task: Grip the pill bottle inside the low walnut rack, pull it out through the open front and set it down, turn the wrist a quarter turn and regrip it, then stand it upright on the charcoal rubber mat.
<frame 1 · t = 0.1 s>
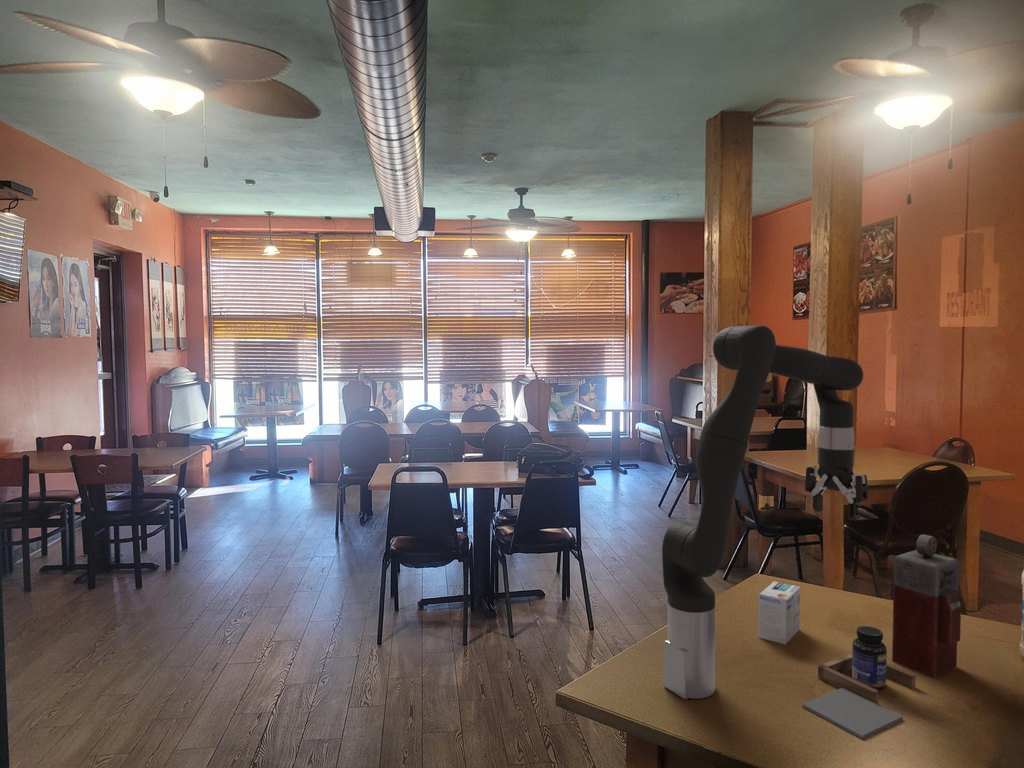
hand: (834, 515, 154), 29 cm above the table, tool pointing down, fingers open, 8 cm apart
walnut rack: (868, 683, 135), on the table
rubber mat: (851, 713, 124), on the table
red rectangular canister: (929, 666, 142), on the table
pill bottle: (868, 684, 135), on the table
light bulb box: (779, 634, 159), on the table
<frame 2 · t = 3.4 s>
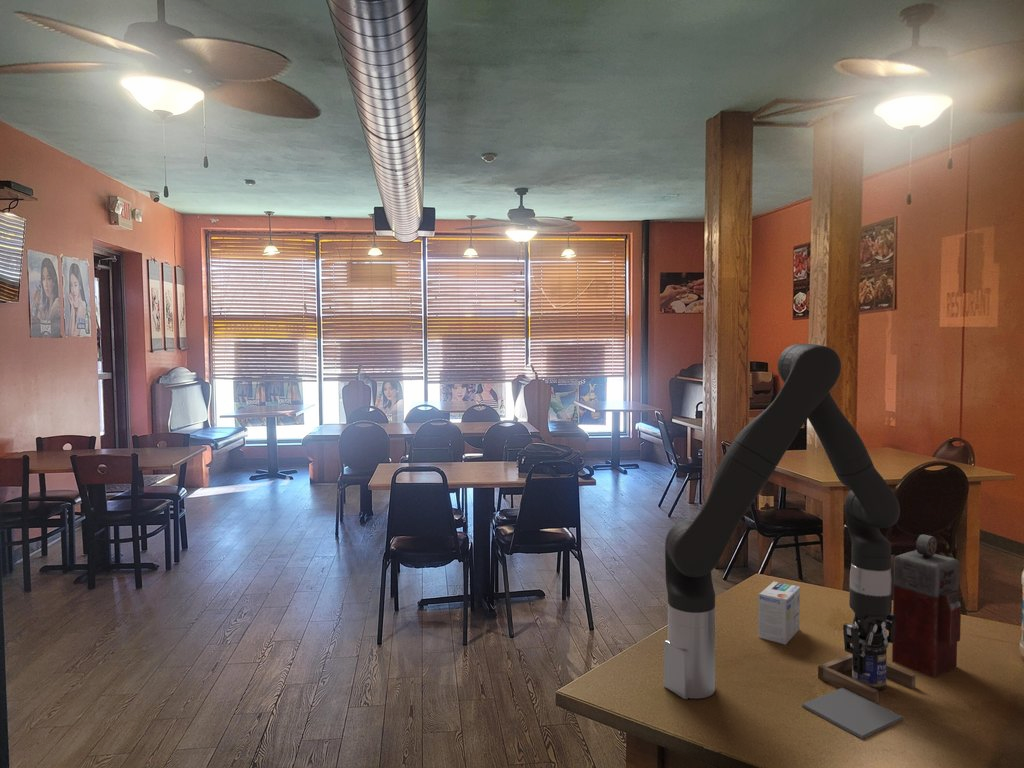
hand: (869, 668, 135), 3 cm above the table, tool pointing down, fingers closed on pill bottle, 6 cm apart
pill bottle: (868, 684, 135), on the table, touching gripper
everything else where it was.
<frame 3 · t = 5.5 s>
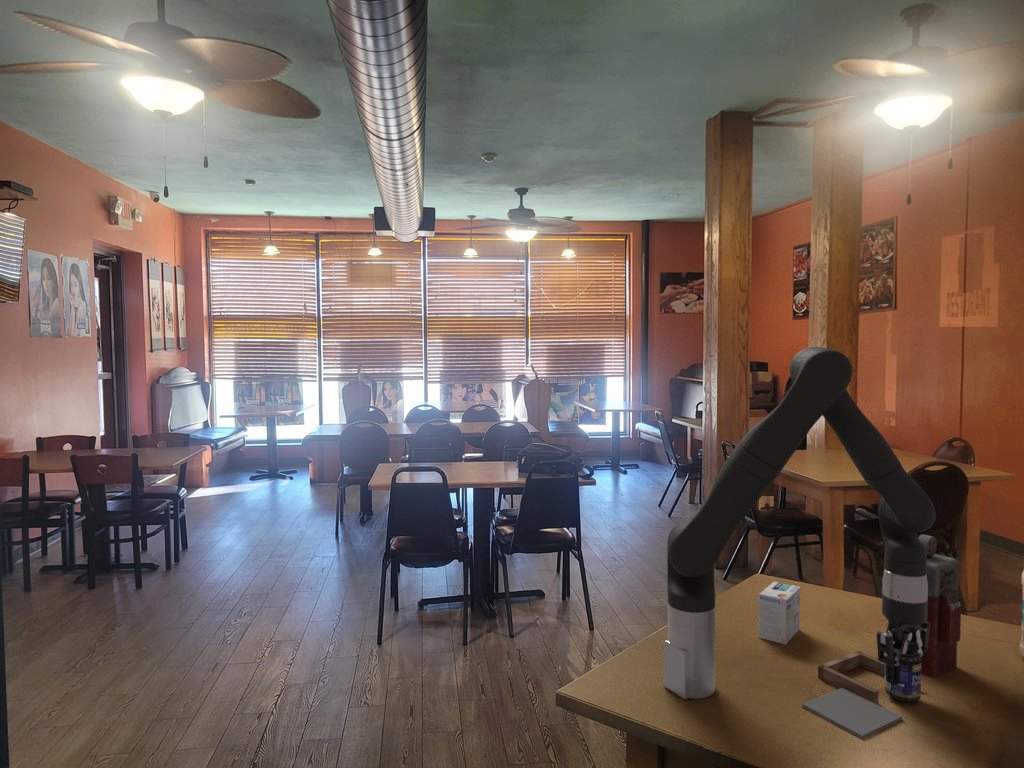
hand: (902, 678, 129), 4 cm above the table, tool pointing down, fingers closed on pill bottle, 6 cm apart
pill bottle: (902, 695, 129), point 1 cm above the table, touching gripper
everything else where it was.
when the fingers open (3 cm above the table, at t = 7.5 s): pill bottle stays where it is, on the table.
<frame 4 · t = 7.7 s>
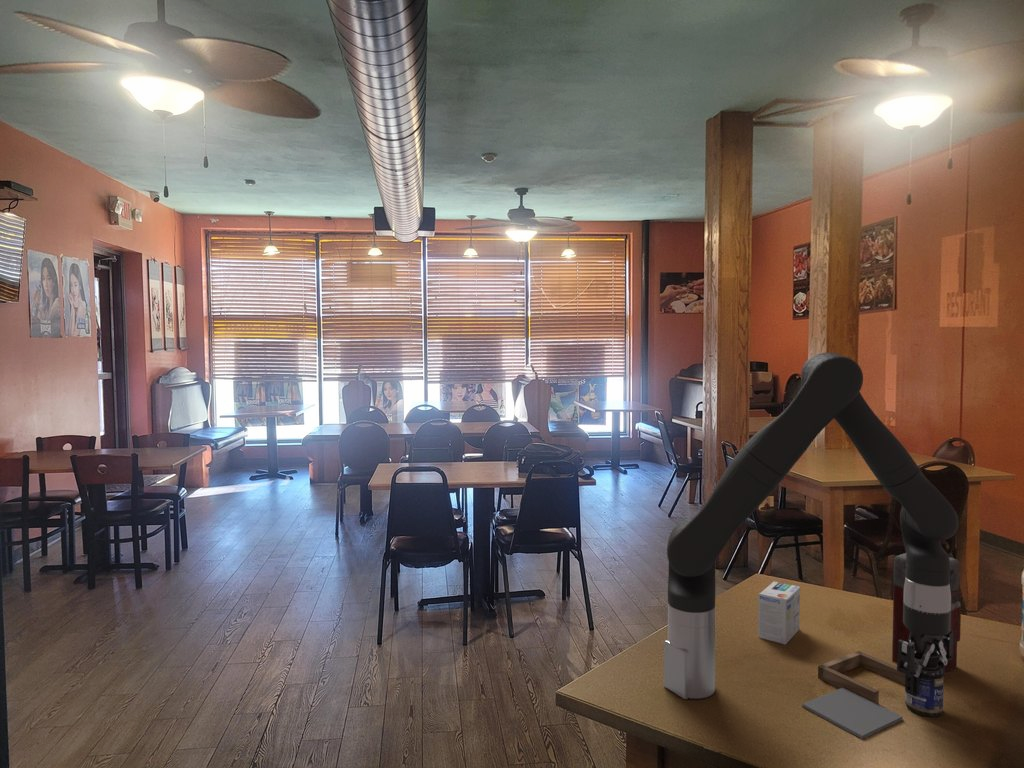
hand: (924, 688, 125), 4 cm above the table, tool pointing down, fingers open, 8 cm apart
pill bottle: (923, 710, 125), on the table
everything else where it was.
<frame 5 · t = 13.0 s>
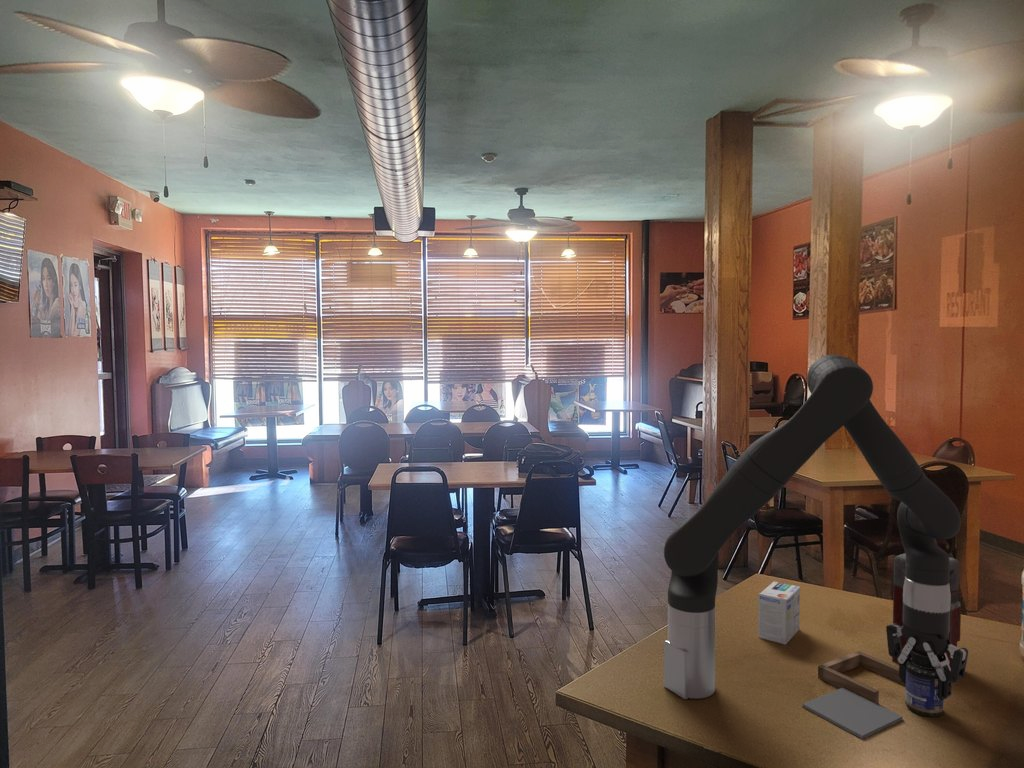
hand: (924, 689, 125), 4 cm above the table, tool pointing down, fingers closed on pill bottle, 6 cm apart
pill bottle: (923, 709, 125), on the table, touching gripper
everything else where it was.
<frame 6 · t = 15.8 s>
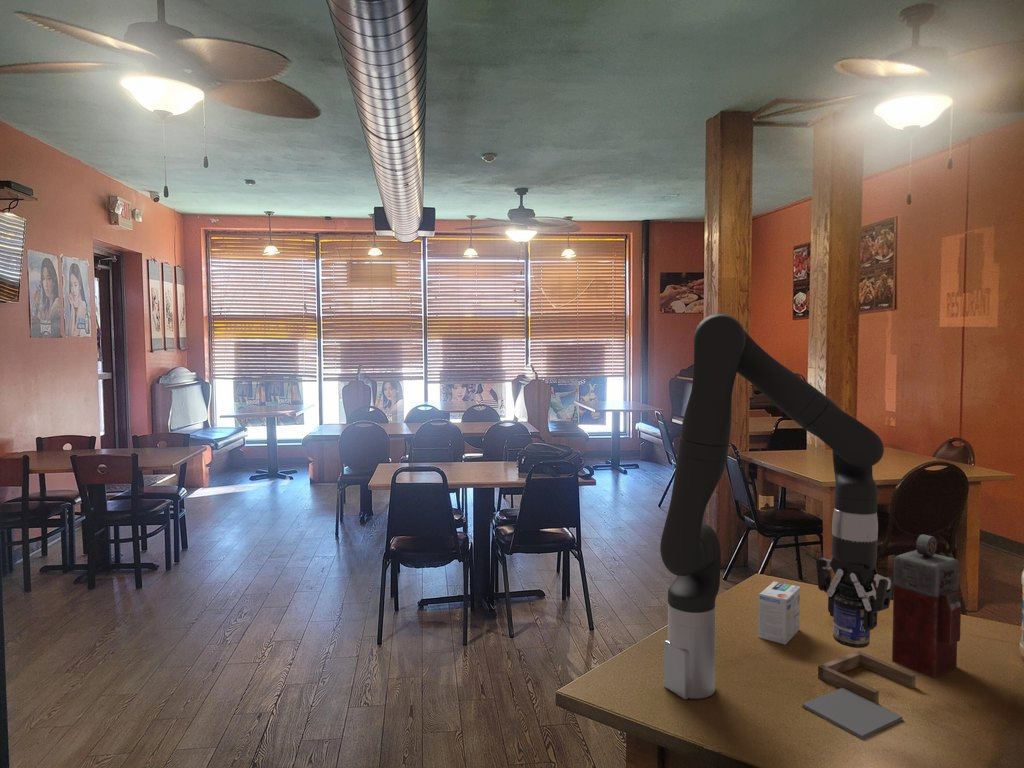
hand: (851, 622, 124), 17 cm above the table, tool pointing down, fingers closed on pill bottle, 6 cm apart
pill bottle: (850, 642, 124), point 13 cm above the table, touching gripper
everything else where it was.
when the fingers open (5 cm above the table, at t = 18.7 s): pill bottle stays where it is, resting on rubber mat.
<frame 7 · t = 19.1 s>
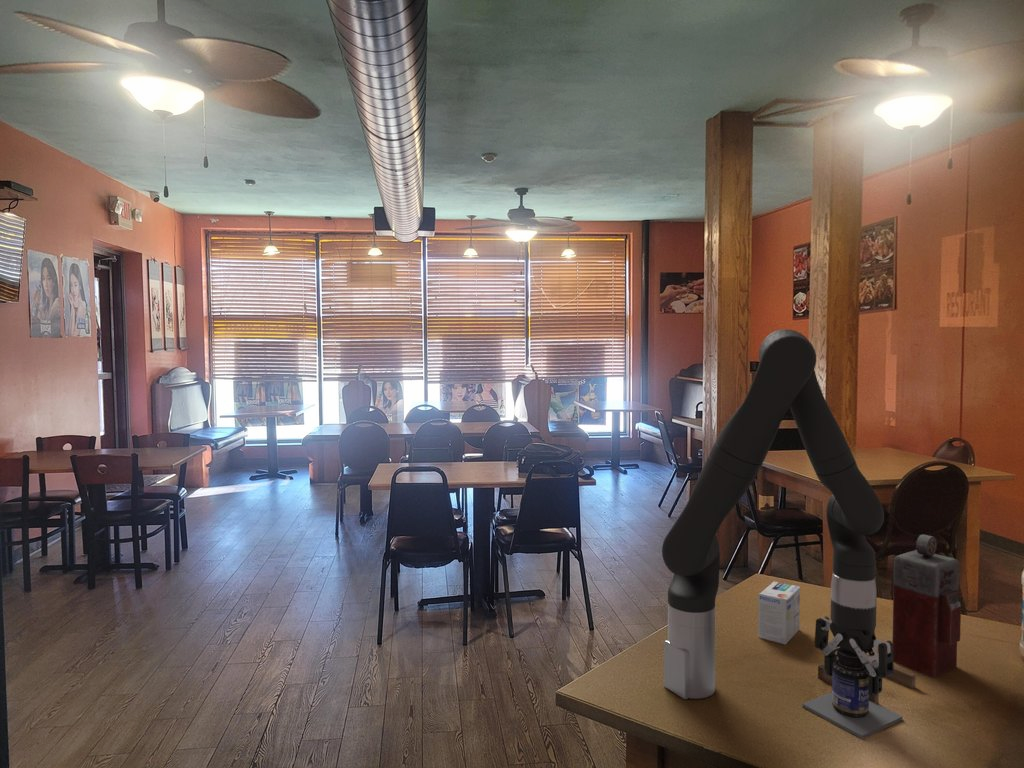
hand: (851, 684, 124), 6 cm above the table, tool pointing down, fingers open, 8 cm apart
pill bottle: (850, 710, 124), resting on rubber mat
everything else where it was.
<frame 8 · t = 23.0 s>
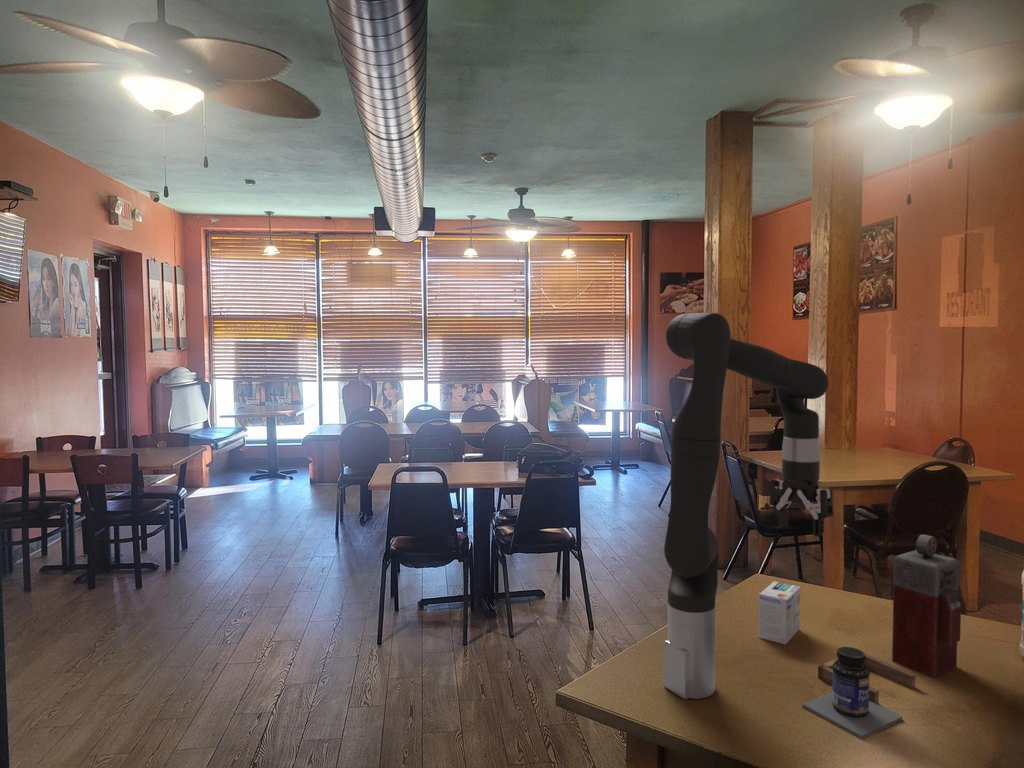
hand: (799, 531, 145), 28 cm above the table, tool pointing down, fingers open, 8 cm apart
nothing on the table moved.
at the end: pill bottle inside the target area on the rubber mat (0.2 cm from its centre), point 0.4 cm above the rubber mat's base; pill bottle tilted 0°; the gripper is holding nothing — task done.
